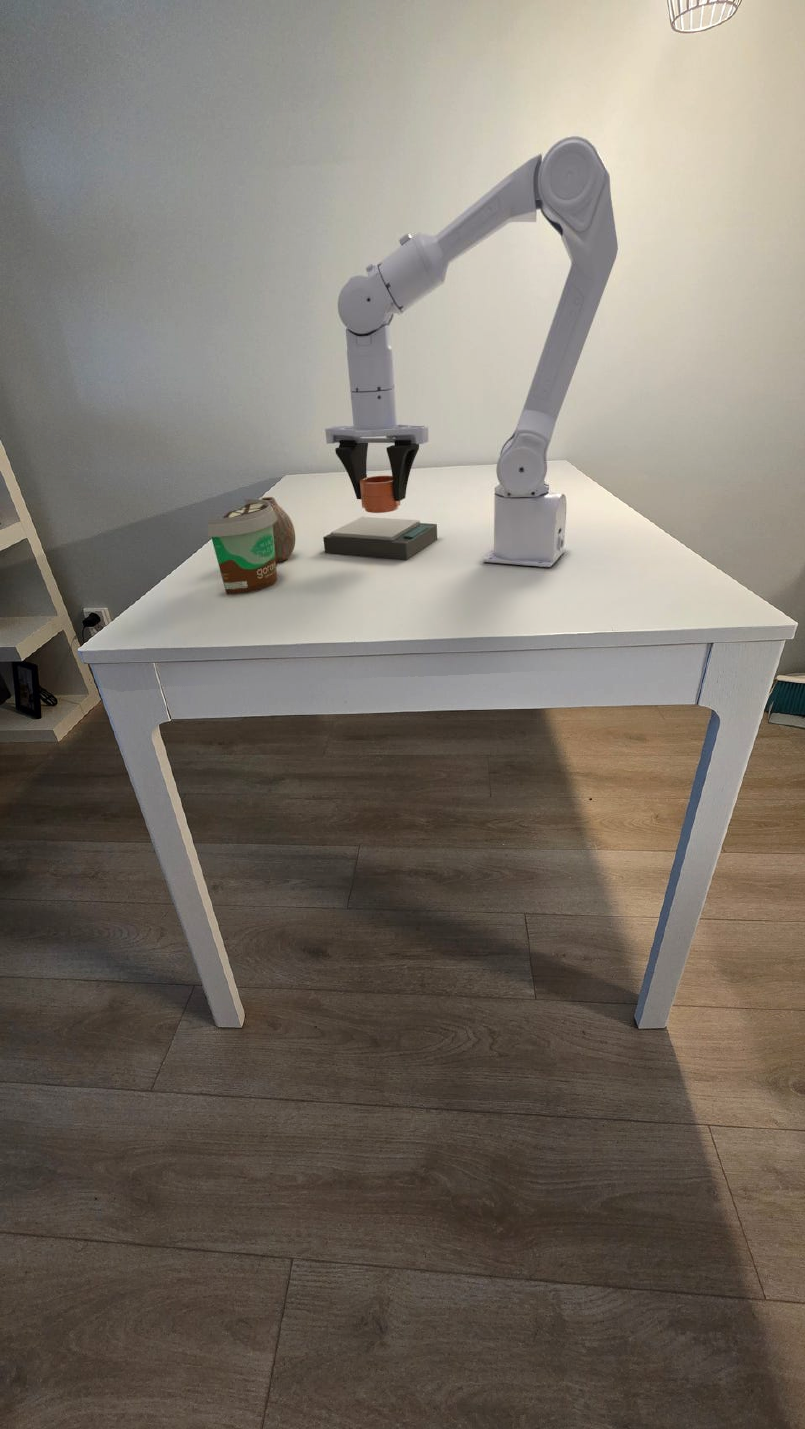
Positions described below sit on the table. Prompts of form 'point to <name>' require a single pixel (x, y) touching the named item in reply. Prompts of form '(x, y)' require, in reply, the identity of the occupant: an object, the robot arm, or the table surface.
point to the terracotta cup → (378, 494)
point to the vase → (282, 532)
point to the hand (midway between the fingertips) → (380, 498)
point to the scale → (381, 538)
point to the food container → (245, 547)
